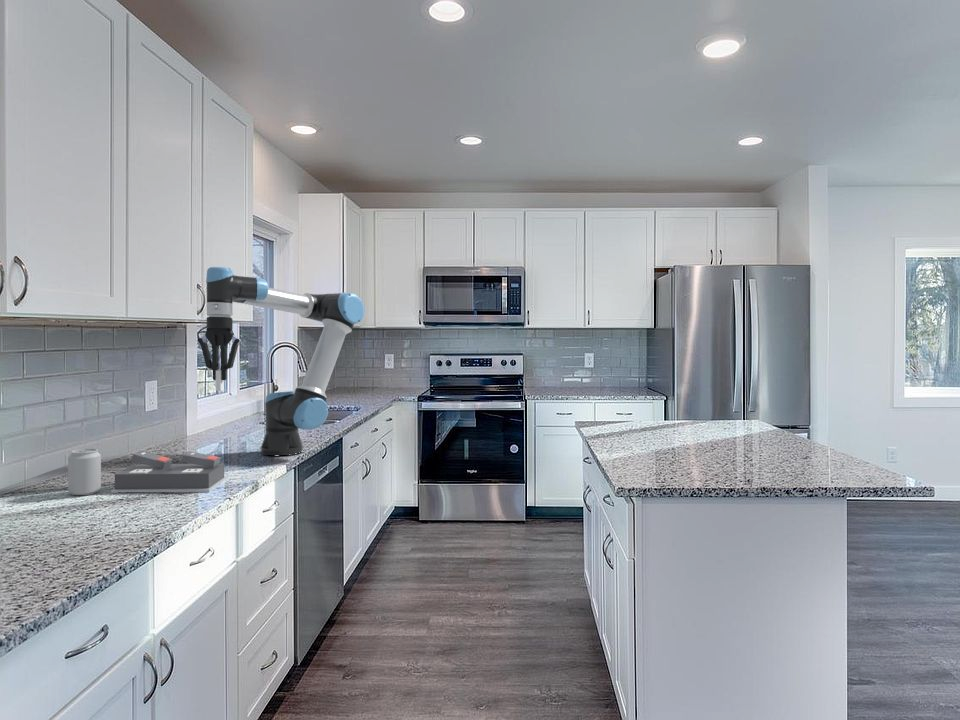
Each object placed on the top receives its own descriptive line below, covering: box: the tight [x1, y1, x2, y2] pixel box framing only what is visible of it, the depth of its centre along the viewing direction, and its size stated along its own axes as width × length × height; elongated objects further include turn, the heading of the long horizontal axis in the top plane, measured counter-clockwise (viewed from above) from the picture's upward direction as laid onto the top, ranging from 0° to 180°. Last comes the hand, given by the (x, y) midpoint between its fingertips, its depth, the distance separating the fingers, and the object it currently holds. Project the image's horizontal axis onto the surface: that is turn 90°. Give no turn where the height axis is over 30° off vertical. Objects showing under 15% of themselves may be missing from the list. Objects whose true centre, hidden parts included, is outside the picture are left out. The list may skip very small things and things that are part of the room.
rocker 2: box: [181, 451, 221, 468], centre depth 170 cm, size 5×9×2 cm, turn 96°
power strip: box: [110, 463, 228, 494], centre depth 167 cm, size 15×26×5 cm, turn 96°
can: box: [67, 448, 102, 496], centre depth 158 cm, size 8×8×12 cm
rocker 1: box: [131, 450, 173, 469], centre depth 168 cm, size 5×9×2 cm, turn 96°
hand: (219, 390), depth 183 cm, fingers closed
